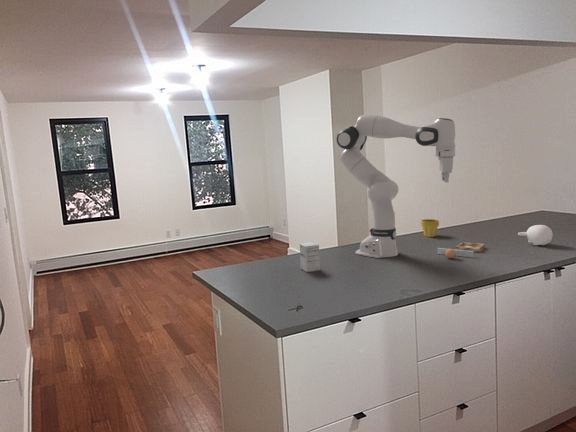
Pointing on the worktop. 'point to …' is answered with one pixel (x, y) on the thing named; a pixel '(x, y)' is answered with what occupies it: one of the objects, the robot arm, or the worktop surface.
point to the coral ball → (450, 253)
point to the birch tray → (470, 247)
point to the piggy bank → (538, 234)
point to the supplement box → (309, 257)
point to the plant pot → (429, 227)
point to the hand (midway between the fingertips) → (445, 181)
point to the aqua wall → (458, 252)
